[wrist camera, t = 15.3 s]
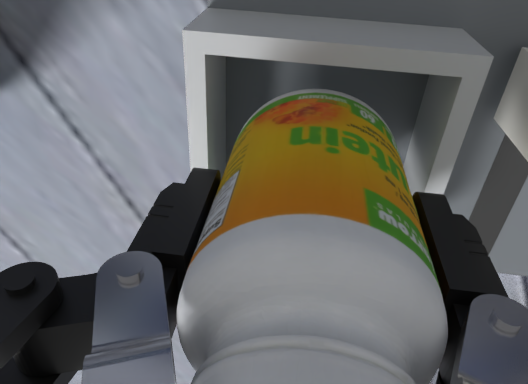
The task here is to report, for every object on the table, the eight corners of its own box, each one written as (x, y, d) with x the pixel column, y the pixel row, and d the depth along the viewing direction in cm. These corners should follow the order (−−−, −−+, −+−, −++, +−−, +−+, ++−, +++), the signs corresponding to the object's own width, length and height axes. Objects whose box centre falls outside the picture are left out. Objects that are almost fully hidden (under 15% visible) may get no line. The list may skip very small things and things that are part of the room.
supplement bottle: (431, 127, 13) (612, 493, 5) (346, 244, 16) (370, 587, 8) (270, 54, 12) (170, 342, 4) (213, 191, 15) (92, 509, 7)
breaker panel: (523, 241, 21) (578, 335, 16) (223, 206, 22) (197, 286, 17) (672, -34, 14) (843, -3, 9) (222, -65, 15) (177, -52, 10)
